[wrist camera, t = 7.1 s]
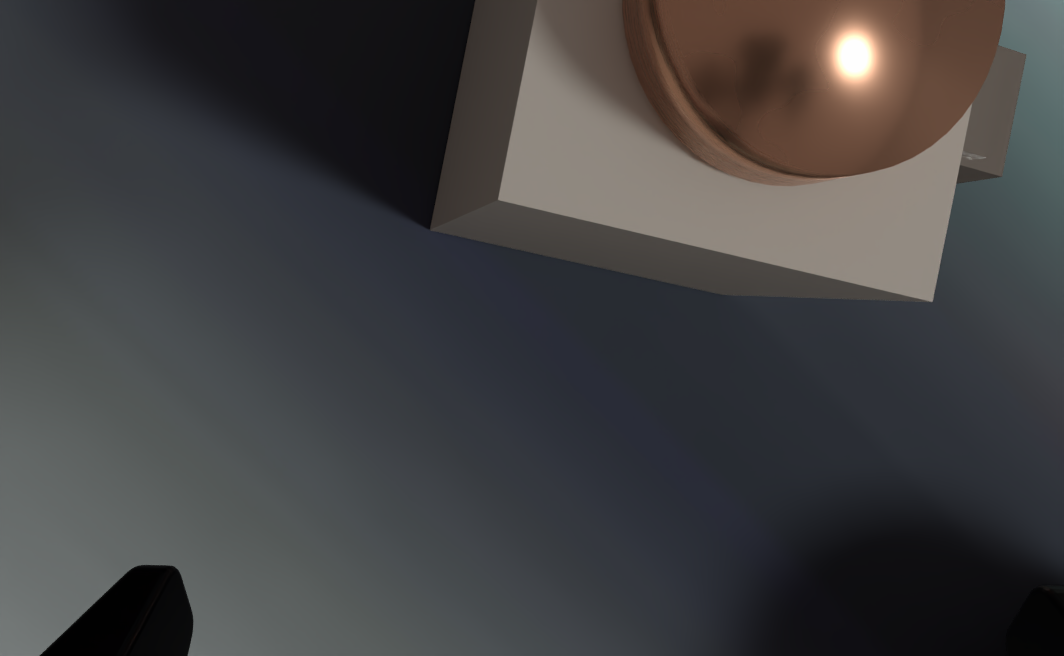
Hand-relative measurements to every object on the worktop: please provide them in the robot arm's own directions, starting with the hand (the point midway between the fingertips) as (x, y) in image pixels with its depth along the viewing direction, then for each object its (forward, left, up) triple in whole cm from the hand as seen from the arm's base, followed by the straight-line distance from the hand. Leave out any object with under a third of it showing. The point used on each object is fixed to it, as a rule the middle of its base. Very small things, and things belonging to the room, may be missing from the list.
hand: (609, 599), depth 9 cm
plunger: (+8, -3, -9) cm, 13 cm away
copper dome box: (+8, -3, -12) cm, 15 cm away
